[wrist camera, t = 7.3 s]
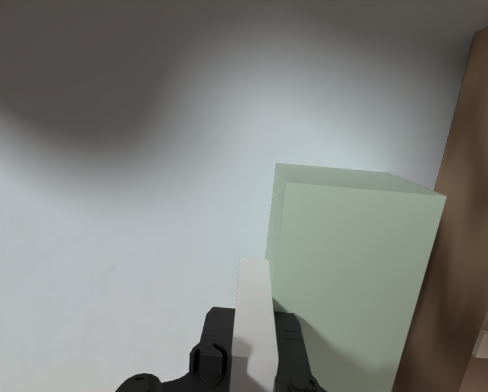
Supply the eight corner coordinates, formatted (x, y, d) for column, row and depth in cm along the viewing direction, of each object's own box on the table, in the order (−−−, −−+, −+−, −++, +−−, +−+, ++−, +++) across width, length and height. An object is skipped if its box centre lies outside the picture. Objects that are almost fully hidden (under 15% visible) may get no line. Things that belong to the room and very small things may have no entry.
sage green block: (275, 162, 15) (286, 182, 10) (385, 171, 15) (446, 196, 10) (255, 342, 19) (256, 421, 14) (346, 351, 18) (379, 433, 14)
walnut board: (475, 32, 13) (612, -22, 8) (540, 37, 13) (717, -15, 8) (368, 438, 20) (407, 544, 15) (411, 442, 20) (464, 550, 15)
